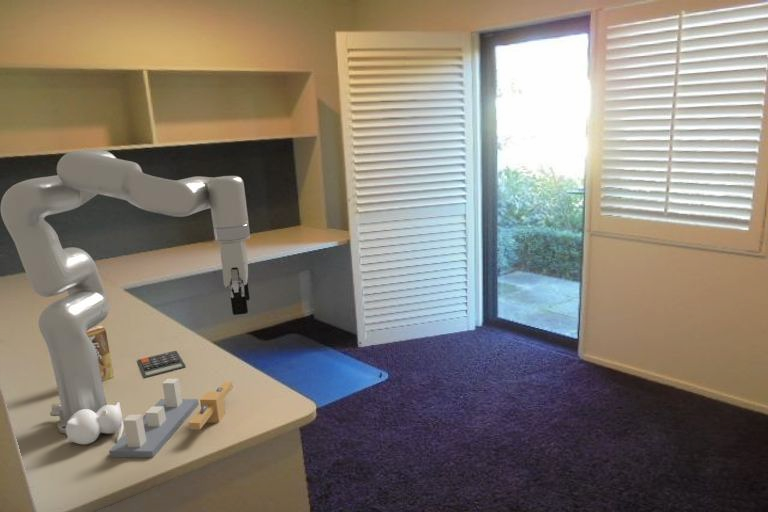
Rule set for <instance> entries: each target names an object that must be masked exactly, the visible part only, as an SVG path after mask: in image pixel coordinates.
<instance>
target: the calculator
mask: <svg viewBox="0 0 768 512" xmlns="http://www.w3.org/2000/svg"><path fill="white" fill-rule="evenodd" d="M137 363H139V364H138V365H139V368H141V369H140V370H141V373H142V376H143V378H144V379H147V378H151V377H155V376H159V375H163V374H166V373H167V374H168V373H170V372H175V371H178V369H179V370H183V369H186V368H187V367H186V364H185V363H184V361H183V359H182V358H181V356H180V354H179V353H178V350H174V351H168V352H165V353H160V354H156V355H153V356H148V357H144V358H143V357H142V358H139V359H137ZM182 368H183V369H182ZM174 370H175V371H174Z"/></svg>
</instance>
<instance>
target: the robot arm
mask: <svg viewBox="0 0 768 512" xmlns="http://www.w3.org/2000/svg"><path fill="white" fill-rule="evenodd" d="M56 173H57V175H50V176H42V177H36V178H30V179H26V180H23V181H20V182H18V183H15V184H13V185H12V186H11V187H10V188H8V189H7V191H5V193H4V195H3V196H2V198H1V201H0V215H1V219H2V221H3V223H4V226H5V227H6V230H7V231H8V233H9V235H10V236H11V238H12V240H13V242H14V245H15V247H16V250H17V254H18V256H19V258H20V261H21V264H22V266H23V268H24V271H25V274H26V276H27V279H28V281H29V283H30V286H31V288H32V290H33V291H34V292H35V293H36V294H37V295H39V296H41V297H45V298H48V297H54V296H58V295H60V294H63V293H65V292H67V294H68V295H67V296H64V297H62V298H60V299H58V300H56V301H53V302H52V303H51V304H49V305H47V307H45V308H44V309H43V310H42V312H41V313H40V316H39V318H38V328H39V331H40V332H39V333H41V336H42V338H43V340H44V342H45V345H46V346H47V349H48V353H49V356H50V360H51V364H52V370H53V373H54V378H55V382H56V387H57V394H58V396H59V401H60V403H54V404H53V405H52V407H51V411H50V413H49V415H50V417H59V421H58V423H57V429H58V431H59V432H60V433H61V434H64V435H67V434H66V426H67V422H68V421H69V419H70V418H71V417H72V416H73V415H74V414H75V413H76V412H78V411H79V410H82V409H89V410H92V411H93V412H95V413H97V412H98V410H99V409H101V408H102V407H103V406H105V405H108V404H107V399H106V395H105V393H106V392H105V389H104V383H103V381H102V378H101V373H100V367H99V362H98V357H97V353H96V349H95V346H94V344H93V343H92V342H91V340H90V339H89V338H88V336H87V334H86V331H88V330H89V329H91V328H94V327H97V325H99V324H100V323H102V322H103V321H104V320H105V319H106V318H107V316H108V315H109V313H110V302H109V298H108V294H107V291H106V289H105V286H104V282H103V280H102V278H101V275H100V272H99V270H98V269H99V268H98V267H97V265H96V263H95V261H94V259H93V258H92V256H91V255H90V254H89V253H88V252H87V251H85V250H84V249H82V248H78V247H74V246H73V247H66V248H63V246H62V244H61V242H60V240H59V239H60V238H59V236H58V233H57V232H56V231H55V229H54V228H53V227H52V225H51V224H50V223H49V222H48V221H46V220H45V217H47V216H51V215H57V214H59V213H65V212H68V211H72V210H75V209H77V208H79V207H81V206H83V205H84V204H85V203H86V204H87V202H89V201H90V200H91V199H93V198H94V197H96V196H97V195H101V196H105V197H111V198H114V199H115V198H116V199H119V200H124V201H127V202H128V203H129V204H131V205H133V206H135V207H137V208H138V209H141V210H142V211H143V210H144V211H147V212H150V213H157V214H161V215H165V216H170V217H179V218H180V217H181V218H182V217H183V218H184V217H187V216H191V215H193V214H197V213H199V212H201V211H204V210H208V209H210V213H211V220H212V227H213V235H214V241H215V243H218V244H219V245H220V246H219V247H220V248H219V249H220V259H221V262H220V263H221V269H222V271H221V272H222V277H223V279H222V280H223V286H224V287H225V288H228V287H230V302H231V304H230V305H231V310H232V315H233V316H238V315H245V314H248V313H249V309H248V308H249V307H248V301H249V300H250V299H251V298H250V290H249V284H248V279H249V266H248V253H247V252H248V251H247V244H246V243H247V242H246V241H248V240H250V239H251V233H250V232H251V231H250V225H249V217H248V216H249V215H248V207H247V199H246V191H245V190H246V189H245V185H244V184H245V183H244V180H243V178H242V177H240V176H239V175H223V176H216V177H210V176H209V177H208V176H201V175H200V176H197V175H196V176H191V177H187V178H182V179H178V180H174V179H167V178H163V177H160V176H159V177H158V176H153V175H150V174H147V173H144V172H143V170H142V168H141V166H140V164H138V163H137V162H134V161H131V160H126V159H125V160H124V159H121V158H117V157H116V156H115V155H114V154H113V153H111V152H110V151H108V150H103V149H100V148H95V149H94V148H93V149H82V150H80V149H79V150H73V151H70V152H67V153H66V154H64V155H63V156H62V157H61V158H60V159H59V161H57V165H56Z"/></svg>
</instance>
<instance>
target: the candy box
mask: <svg viewBox="0 0 768 512" xmlns="http://www.w3.org/2000/svg"><path fill="white" fill-rule="evenodd" d="M86 334H87V336H88V338H89V339H90V340H91V342H92V343H93V344H94V346H95V349H96V353H97V357H98V362H99V367H100V373H101V378H102V382H103V381H106V380H109V379H112V378H115V373H114V368H113V362H112V358H111V350H110V346H109V340H108V336H107V335H108V334H107V329H106V328H105V326H102V325H98V326H97V325H96V326H94V327H92V328H91V329H89V330H88V331H86Z"/></svg>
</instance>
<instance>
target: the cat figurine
mask: <svg viewBox="0 0 768 512" xmlns="http://www.w3.org/2000/svg"><path fill="white" fill-rule="evenodd" d="M123 420H124V419H123V413H122V410H121V403H120V401H117V402H116V404H114V405H113V404H107V405H105V406H103V407H102V408H101V409H99V410H98V412H97V413H95V412H93V411H92V410H89V409H82V410H79V411H78V412H76V413H75V414H74V415H73V416H72V417H71V418H70V419H69V421H68V422H67V426H66V434H65V435H66V436H67V438H66V440H67V442H68V443H76V444H78V445H89V444H92V443H94V442H95V441H96V440H97V439H98V438H99V436H100V434H101V433H102V434H114V433H116V432H117V431H118V435H117V436H116V437H117V438H116V443H117V442H118V441H119V440H120V439H121V438H122V437H123V434H124V424H123Z"/></svg>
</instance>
